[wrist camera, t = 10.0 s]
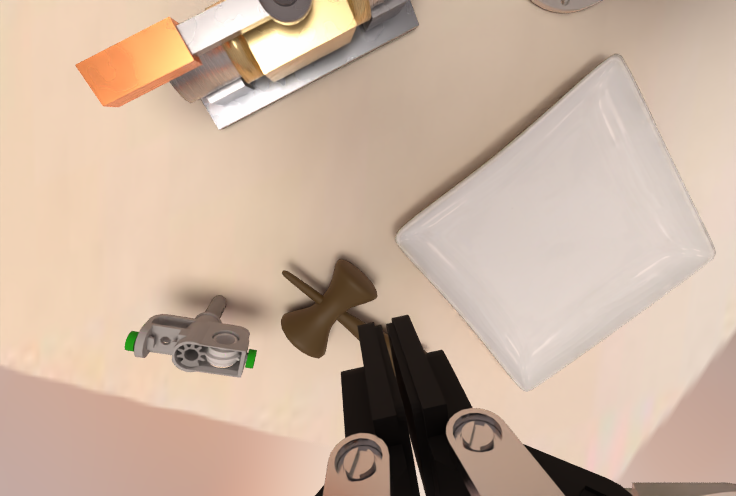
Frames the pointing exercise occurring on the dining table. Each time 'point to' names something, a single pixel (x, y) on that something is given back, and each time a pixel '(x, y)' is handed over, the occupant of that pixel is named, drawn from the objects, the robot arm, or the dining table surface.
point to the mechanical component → (196, 341)
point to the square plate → (563, 230)
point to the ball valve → (290, 55)
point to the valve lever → (178, 47)
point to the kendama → (328, 309)
